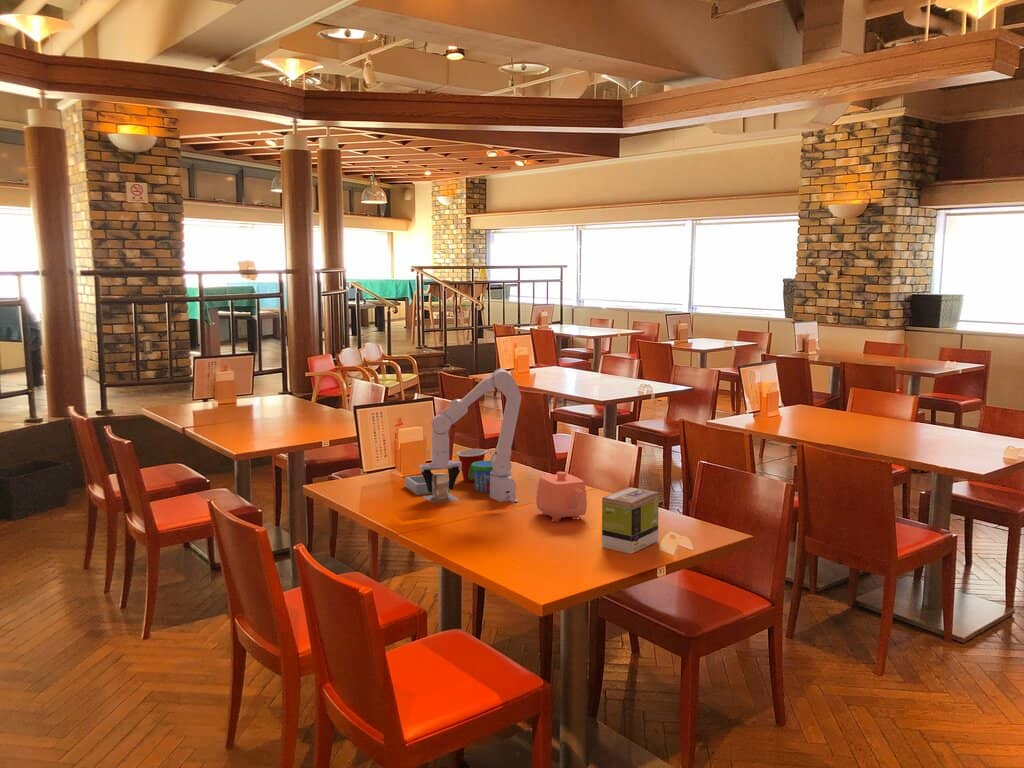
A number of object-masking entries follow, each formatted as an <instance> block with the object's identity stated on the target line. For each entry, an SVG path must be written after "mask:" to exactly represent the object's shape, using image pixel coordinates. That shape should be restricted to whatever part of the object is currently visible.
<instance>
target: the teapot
mask: <svg viewBox="0 0 1024 768" xmlns="http://www.w3.org/2000/svg"><path fill="white" fill-rule="evenodd" d="M586 489H587V488H586V483H585V481H584V480H583V479H581V478H579V477H577V476H574V475H572V474H570V473H567V472H565V471H557V472H556V474H555V473H554V474H552V473H546V474H544V475H539V476H538V481H537V489H536V497H535V499H536V501H535V502H536V507H537V509H538V510H539V511H540V512H542V513H541V516H543V515H549V516H550V517H551V521H552V520H553V521H552V522H554V521H559V520H561V518H562V519H563V518H571V519H572V518H575V519H574V520H578V519H577V518H580V519H581V517H580V516H584V515H586V513H587V508H588V507H587V505H588V504H587V503H588V502H587V501H588V500H587V490H586ZM549 516H548V517H549ZM559 522H560V521H559Z"/></svg>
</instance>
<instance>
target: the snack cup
mask: <svg viewBox="0 0 1024 768" xmlns="http://www.w3.org/2000/svg"><path fill="white" fill-rule="evenodd" d="M492 469H493V466H492V465H491V460H484V461H478V462H474V463H472V465H471V466H470V468H469V474H468V477H469V479H470V480H472V479H475V482H474V483H475V484H474V485H475V490H476V491H477V492H481V493H490V472H491V471H492ZM473 472H474V475H473Z"/></svg>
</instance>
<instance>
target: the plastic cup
mask: <svg viewBox="0 0 1024 768" xmlns="http://www.w3.org/2000/svg"><path fill="white" fill-rule="evenodd" d="M486 454H487V449H482V448H468V449H467V448H466V449H462V450H460V451H457V452H456V455H457V457H458V459H459V461H460V462H462V468H460V470H461V474H462V479H463V482H465V483H470V484H471V483H472V484H473V483H475V479H472V480H470V479H469V477H468V474H469V468H470V466H471V465H472V463H474V462H478V461H485V456H486ZM473 475H474V472H473Z"/></svg>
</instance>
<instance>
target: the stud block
mask: <svg viewBox="0 0 1024 768" xmlns="http://www.w3.org/2000/svg"><path fill="white" fill-rule="evenodd" d="M421 497H422V498H423V499H425V500H427V501H428V502H429V503H431V504H435V503H436V504H437V503H445V502H454V501H461V499H459V498H458V497H456V496H455V495H453V494H452V493H450V492H448V499H440V500H437V499H435V498H434V497H433V494H423V495H421Z"/></svg>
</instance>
